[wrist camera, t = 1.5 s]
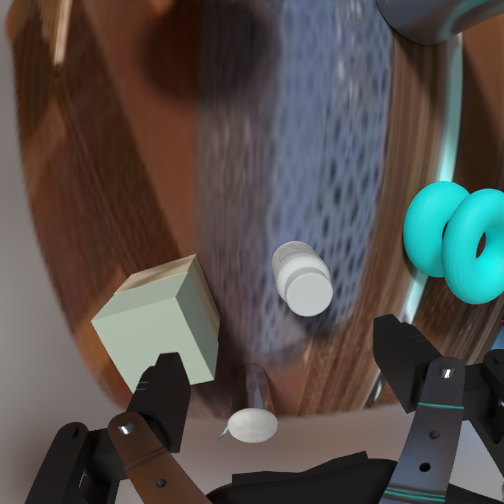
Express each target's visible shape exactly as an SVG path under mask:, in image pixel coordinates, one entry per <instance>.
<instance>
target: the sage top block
mask: <svg viewBox="0 0 504 504" xmlns="http://www.w3.org/2000/svg"><path fill="white" fill-rule="evenodd" d="M91 322H92V324H93V326H94V328H95V330H96V332H97V334H98V335H99V337H100V339H101V341H102V343H103V345H104V346H105V348H106V350H107V352H108V353H109V355H110V357H111V359H112V360H113V362H114V364H115V365H116V367H117V369H118V370H119V372H120V374H121V375H122V377H123V378H124V380H125V382H126V383H127V385H128V386H129V388H130V389H131V391H132V393H133V394H134V391H135V390H136V387H137V384H138V383H139V380H140V378H141V375H142V373H143V372H144V371H145V370H146V369H147V368H148V367H149V366H155V364H156V361H157V359H158V356H159V354H161V353H170V352H178V353H179V354H180V356H181V359H182V362H183V365H184V368H185V370H186V373H187V376H188V379H189V382H190V385H192V384H197V383H202V382H207V381H211V380H214V377H215V369H216V361H217V354H218V346H219V343H218V341H217V339H216V337H215V334H214V332H213V330H212V327H211V325H210V323H209V320H208V318H207V316H206V313H205V311H204V309H203V306H202V304H201V301H200V299H199V296H198V294H197V292H196V289H195V287H194V284H193V282H192V279H191V277H190V274H189V272H184V273H181V274H178V275H175V276H172V277H168V278H165V279H162V280H159V281H156V282H152V283H149V284H146V285H143V286H140V287H136V288H133V289H130V290H127V291H124V292H120V293H117V294H115V295H114V296H113V297H112V298H111V299H110V300H109V301H108V302H107V304H106V305H105V306H104V307H103V308H102V309H101V310H100V311H99V312H98V314H97V315H96V316H95V317H94V318H93V319H92V320H91Z"/></svg>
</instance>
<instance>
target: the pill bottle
mask: <svg viewBox="0 0 504 504" xmlns="http://www.w3.org/2000/svg"><path fill="white" fill-rule="evenodd" d="M271 267H272V272H273V276H274V279H275V283H276V287H277V290H278V293H279V295H280V296H281V298H282V299H283V300H284V301H285V302H287V304H288V306H289V307H290V309H291V310H292V311H293V312H295V313H296V314H298V315H301V316H314V315H317V314H319V313H321V312H322V311H324V310H325V309H326V308H327V307H328V305H329V304H330V302H331V299H332V296H333V290H332V286H331V283H330V273H329V270H328V268H327V266H326V265H325V263H324V262H323V261H322V260H321V258H320V257H319V256H318V254H317V253H316V252H315V251H314V250H313V249H312V248H311V247H310V246H309V245H308V244H306V243H304V242H300V241H291V242H287V243H285V244H283V245H281V246H280V247H279V248H278V249H277V250H276V251H275V253H274V255H273V257H272V262H271Z"/></svg>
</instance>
